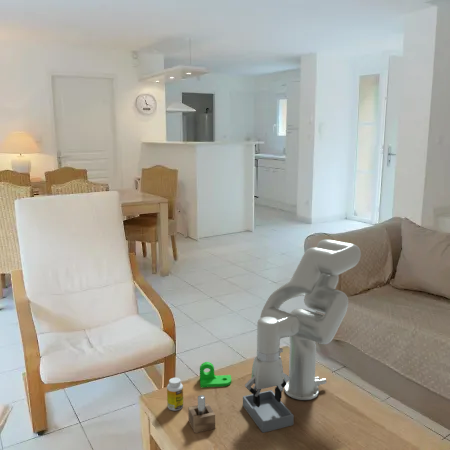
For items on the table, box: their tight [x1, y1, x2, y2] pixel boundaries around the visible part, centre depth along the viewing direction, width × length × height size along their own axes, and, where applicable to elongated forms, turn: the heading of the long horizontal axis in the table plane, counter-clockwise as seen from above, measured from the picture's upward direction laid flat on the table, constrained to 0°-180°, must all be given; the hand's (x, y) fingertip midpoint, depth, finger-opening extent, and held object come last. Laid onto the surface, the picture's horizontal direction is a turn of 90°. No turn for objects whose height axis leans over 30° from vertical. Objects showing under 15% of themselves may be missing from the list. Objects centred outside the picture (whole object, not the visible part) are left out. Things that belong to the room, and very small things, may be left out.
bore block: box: [187, 402, 216, 434], centre depth 152 cm, size 7×7×5 cm
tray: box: [242, 389, 294, 433], centre depth 157 cm, size 11×16×4 cm
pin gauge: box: [197, 394, 206, 415], centre depth 151 cm, size 2×2×10 cm
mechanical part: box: [199, 361, 232, 389], centre depth 176 cm, size 12×6×8 cm, turn 95°
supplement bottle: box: [166, 377, 184, 412], centre depth 161 cm, size 6×6×10 cm
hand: (267, 402), depth 156 cm, fingers open, 7 cm apart
